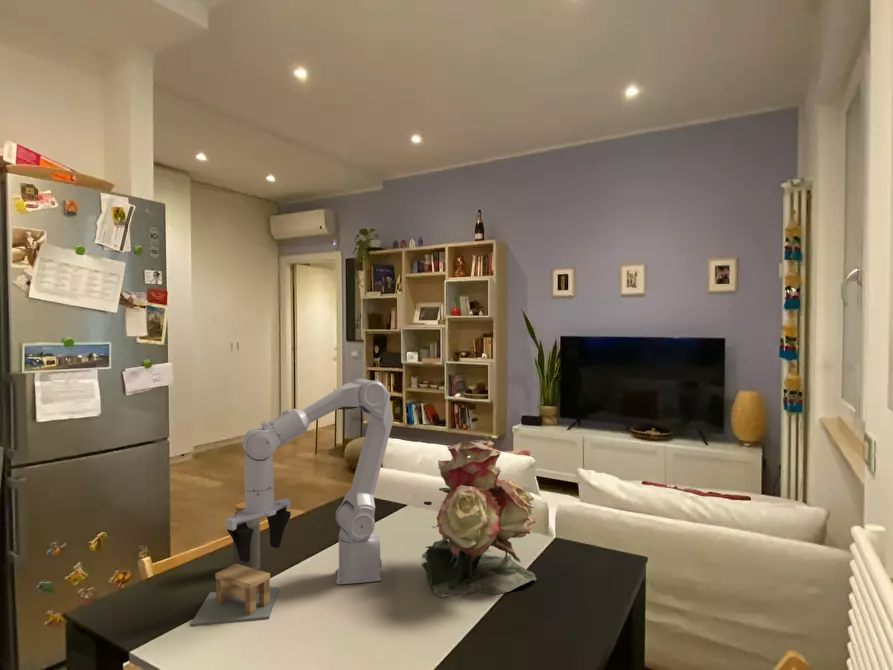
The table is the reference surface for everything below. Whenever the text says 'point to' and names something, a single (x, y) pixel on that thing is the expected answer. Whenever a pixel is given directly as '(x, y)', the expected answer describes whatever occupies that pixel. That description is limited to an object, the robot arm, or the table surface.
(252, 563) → the bottle
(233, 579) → the oak stool
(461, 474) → the rose bouquet
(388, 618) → the table surface
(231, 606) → the grey mat
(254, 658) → the table surface
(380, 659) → the table surface
